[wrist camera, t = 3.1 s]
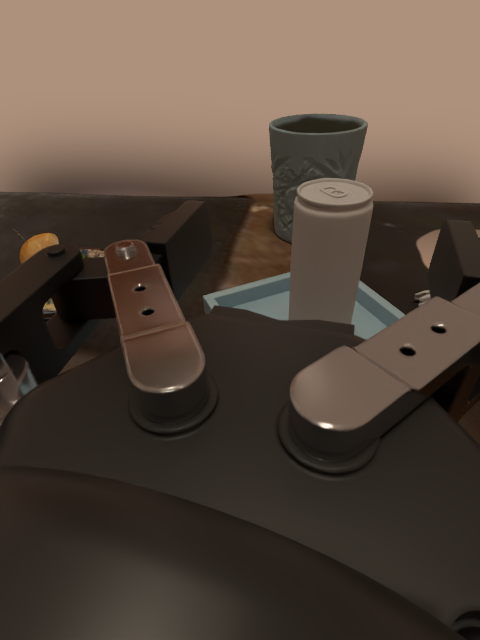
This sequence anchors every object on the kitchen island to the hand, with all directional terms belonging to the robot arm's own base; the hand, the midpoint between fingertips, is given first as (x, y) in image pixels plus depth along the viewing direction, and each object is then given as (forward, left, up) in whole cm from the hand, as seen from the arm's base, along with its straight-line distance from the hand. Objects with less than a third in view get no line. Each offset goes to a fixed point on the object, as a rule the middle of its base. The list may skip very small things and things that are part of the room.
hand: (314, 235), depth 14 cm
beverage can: (-9, +7, -15) cm, 18 cm away
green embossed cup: (-27, +18, -15) cm, 35 cm away
